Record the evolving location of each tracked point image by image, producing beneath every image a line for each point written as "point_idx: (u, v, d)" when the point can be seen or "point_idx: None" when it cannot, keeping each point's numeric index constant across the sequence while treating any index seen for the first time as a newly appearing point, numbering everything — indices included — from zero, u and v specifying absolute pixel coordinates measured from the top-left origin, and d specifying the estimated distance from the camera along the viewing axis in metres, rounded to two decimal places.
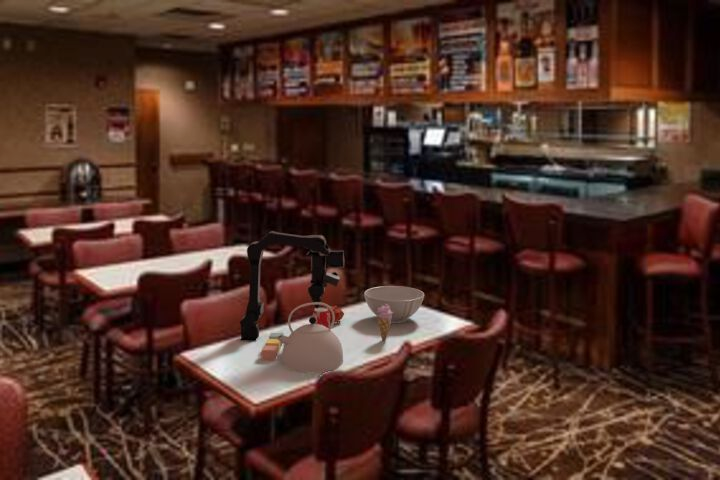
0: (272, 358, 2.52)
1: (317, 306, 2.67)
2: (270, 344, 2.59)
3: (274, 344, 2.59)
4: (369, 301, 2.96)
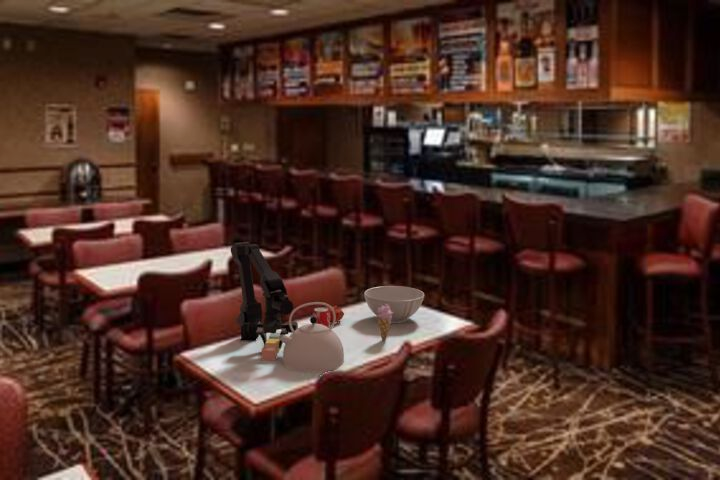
0: (272, 358, 2.52)
1: None
2: (270, 344, 2.59)
3: (274, 344, 2.59)
4: (369, 301, 2.96)
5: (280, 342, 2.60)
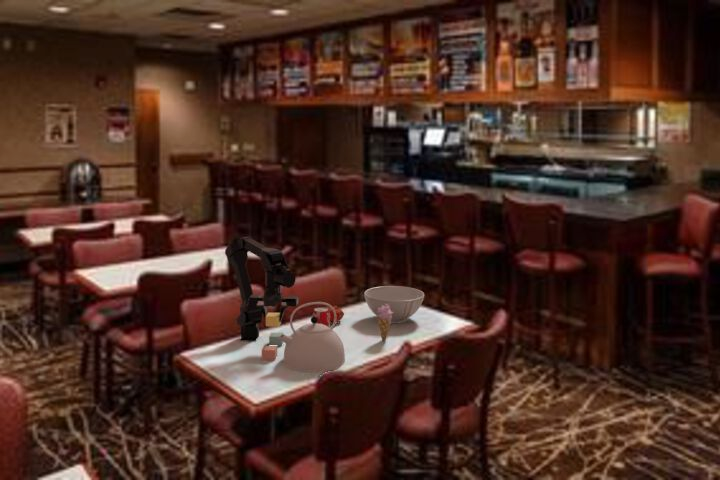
0: (272, 358, 2.51)
1: None
2: (270, 317, 2.60)
3: (274, 317, 2.59)
4: (369, 301, 2.96)
5: (280, 316, 2.61)
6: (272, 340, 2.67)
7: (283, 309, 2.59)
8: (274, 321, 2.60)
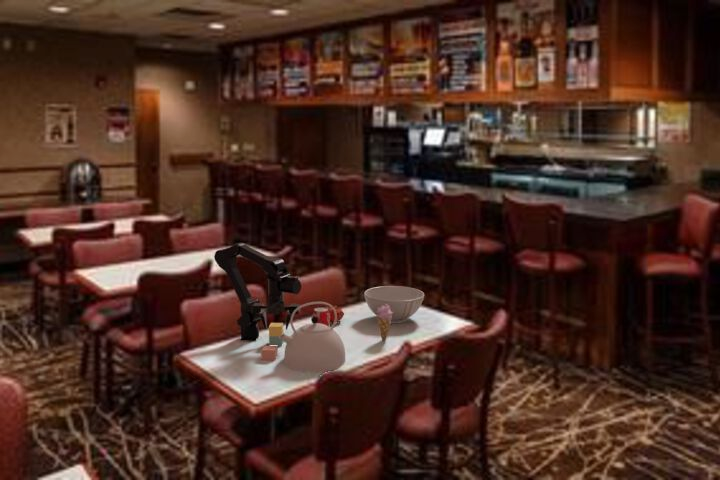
0: (272, 358, 2.51)
1: None
2: (273, 327, 2.66)
3: (277, 327, 2.66)
4: (369, 301, 2.96)
5: (286, 323, 2.67)
6: (272, 340, 2.67)
7: (289, 317, 2.66)
8: (277, 331, 2.66)
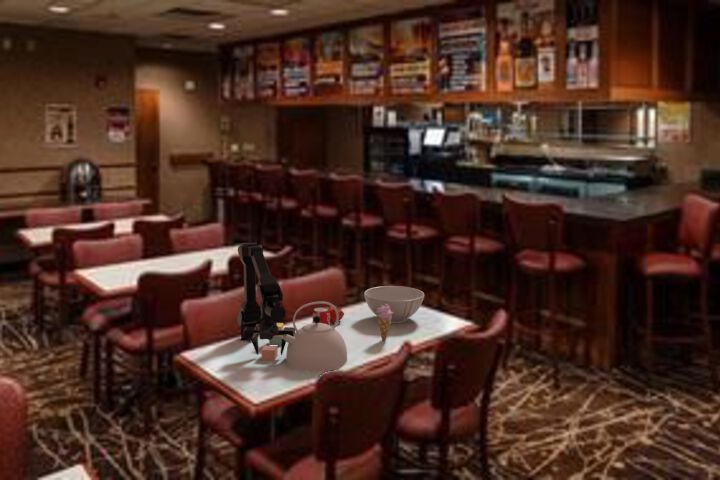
0: (272, 358, 2.51)
1: None
2: None
3: None
4: (369, 301, 2.96)
5: (281, 348, 2.52)
6: (272, 340, 2.67)
7: (284, 342, 2.51)
8: None
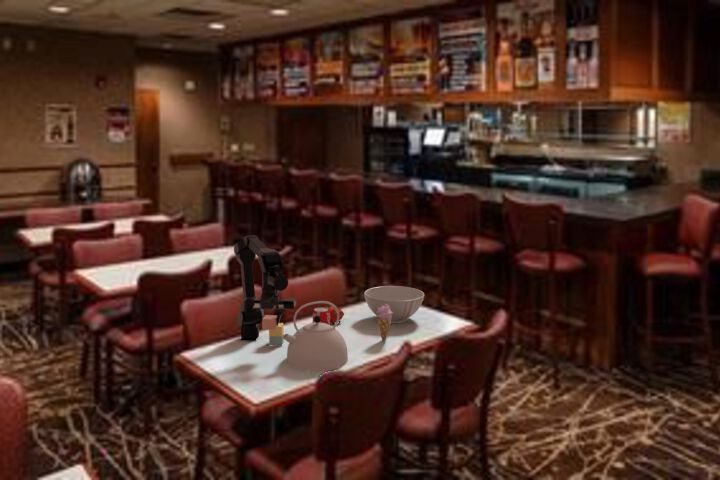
0: (272, 327, 2.53)
1: None
2: None
3: (277, 327, 2.66)
4: (369, 301, 2.96)
5: (277, 319, 2.54)
6: (272, 340, 2.67)
7: (280, 312, 2.52)
8: (277, 331, 2.66)
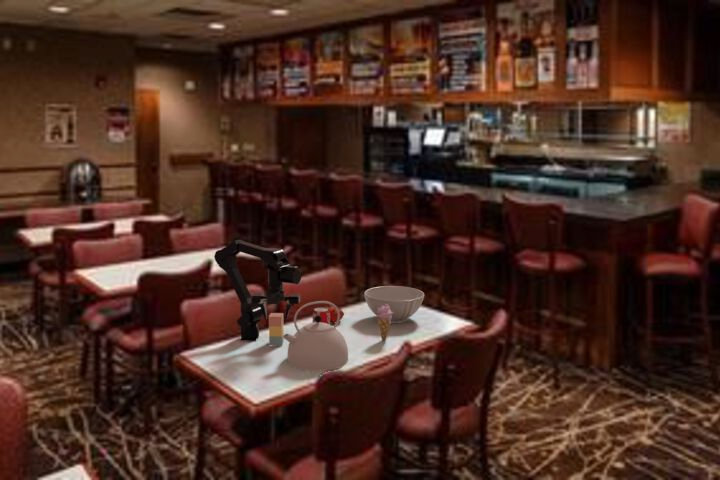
0: (278, 324, 2.66)
1: None
2: (274, 327, 2.66)
3: (277, 327, 2.66)
4: (369, 301, 2.96)
5: (286, 314, 2.67)
6: (272, 340, 2.67)
7: (289, 307, 2.65)
8: (277, 331, 2.66)
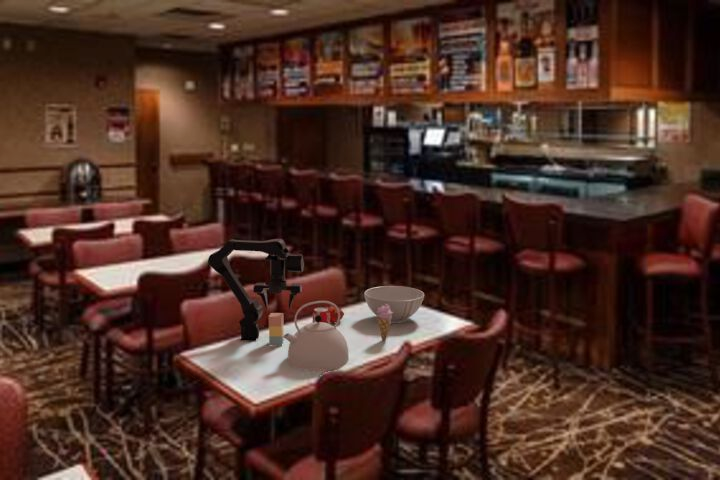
0: (278, 324, 2.66)
1: None
2: (274, 327, 2.66)
3: (277, 327, 2.66)
4: (369, 301, 2.96)
5: (289, 303, 2.71)
6: (272, 340, 2.67)
7: (292, 296, 2.69)
8: (277, 331, 2.66)
